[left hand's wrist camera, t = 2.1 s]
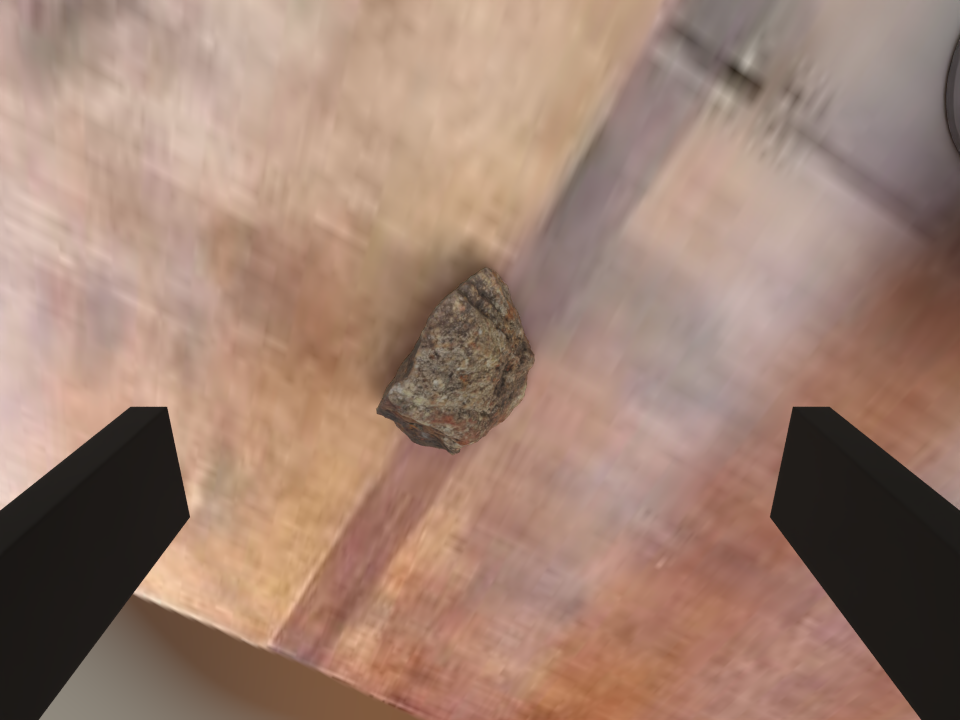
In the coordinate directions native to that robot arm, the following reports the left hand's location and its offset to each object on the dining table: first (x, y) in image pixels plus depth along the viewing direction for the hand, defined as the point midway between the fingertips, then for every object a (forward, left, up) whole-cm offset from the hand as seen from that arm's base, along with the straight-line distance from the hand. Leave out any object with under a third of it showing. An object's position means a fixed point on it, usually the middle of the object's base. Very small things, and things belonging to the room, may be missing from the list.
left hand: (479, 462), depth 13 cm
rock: (-2, +9, -30) cm, 31 cm away
